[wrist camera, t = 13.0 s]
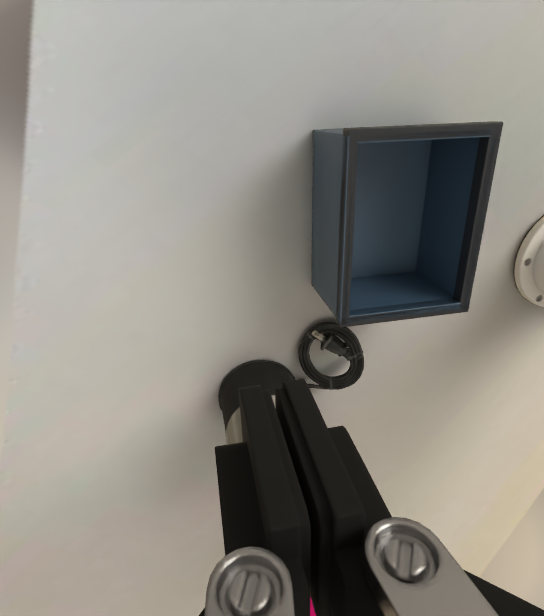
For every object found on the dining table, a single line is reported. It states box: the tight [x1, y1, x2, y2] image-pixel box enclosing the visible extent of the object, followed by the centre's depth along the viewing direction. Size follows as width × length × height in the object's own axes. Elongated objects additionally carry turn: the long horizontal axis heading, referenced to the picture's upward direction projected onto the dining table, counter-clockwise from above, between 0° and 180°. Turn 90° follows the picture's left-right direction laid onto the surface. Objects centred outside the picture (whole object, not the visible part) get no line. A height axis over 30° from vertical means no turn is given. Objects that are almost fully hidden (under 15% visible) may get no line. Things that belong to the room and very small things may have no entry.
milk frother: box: [218, 322, 364, 445], centre depth 42 cm, size 14×16×15 cm
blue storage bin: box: [312, 122, 503, 327], centre depth 38 cm, size 9×16×12 cm
